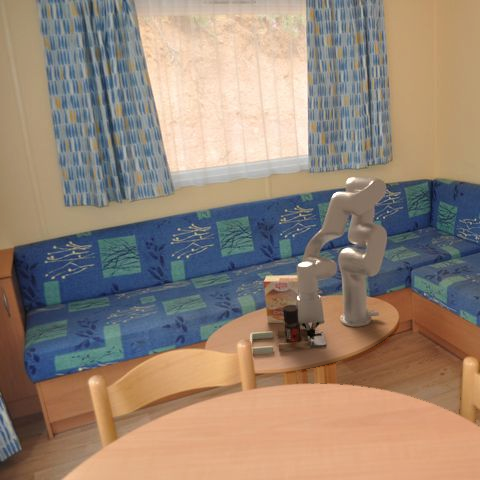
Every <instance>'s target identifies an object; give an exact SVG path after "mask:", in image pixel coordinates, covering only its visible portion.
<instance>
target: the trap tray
mask: <svg viewBox="0 0 480 480" xmlns="http://www.w3.org/2000/svg"><path fill="white" fill-rule="evenodd" d="M307 339H308V341H310V347H311V349H315V348H327V343H326V339H325V336H324V333H323V331H321V332H315V336H314V339H310V337H309V336H307Z"/></svg>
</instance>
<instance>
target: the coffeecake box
mask: <svg viewBox="0 0 480 480" xmlns="http://www.w3.org/2000/svg"><path fill="white" fill-rule="evenodd" d="M263 287H264V298H265V308H266V317H267V318H266V319H267V323H268V324H284V314H283V307H284V306H287V305H296V301H297V297H298V296H299V293H298V279H297V274H296V275H295V274H294V275H292V274H291V275H290V274H289V275H285V274H284V275H265V279H264V280H263Z"/></svg>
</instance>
